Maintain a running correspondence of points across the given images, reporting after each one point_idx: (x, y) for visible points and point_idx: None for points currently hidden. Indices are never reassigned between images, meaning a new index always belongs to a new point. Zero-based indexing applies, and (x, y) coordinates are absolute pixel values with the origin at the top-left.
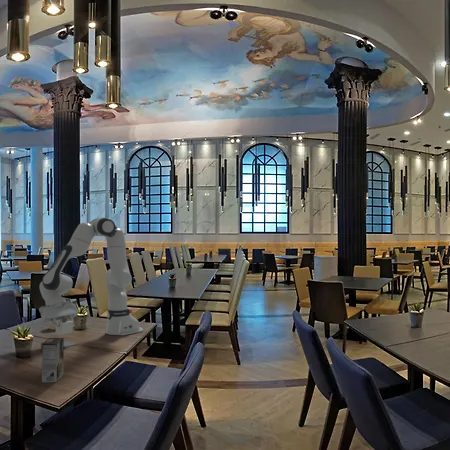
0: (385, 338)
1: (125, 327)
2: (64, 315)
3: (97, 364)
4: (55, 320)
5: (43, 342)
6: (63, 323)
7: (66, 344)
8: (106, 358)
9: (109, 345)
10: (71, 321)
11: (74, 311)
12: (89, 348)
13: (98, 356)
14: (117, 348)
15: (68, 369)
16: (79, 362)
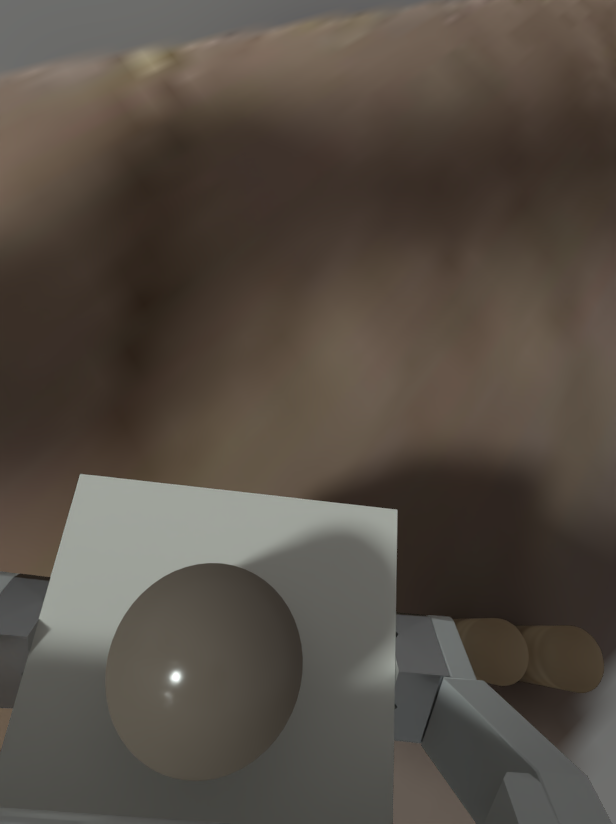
0: None
1: None
2: (109, 819)
3: (428, 59)
4: (523, 747)
5: (566, 670)
6: (366, 508)
7: None
8: (317, 73)
9: (22, 219)
10: (104, 510)
11: None
12: (193, 302)
13: (317, 128)
14: (79, 126)
15: (588, 127)
16: (477, 150)
